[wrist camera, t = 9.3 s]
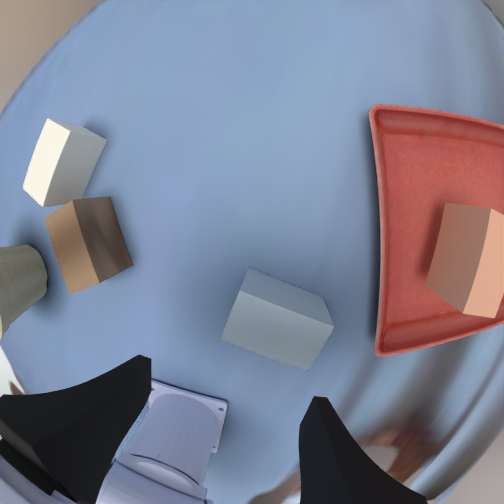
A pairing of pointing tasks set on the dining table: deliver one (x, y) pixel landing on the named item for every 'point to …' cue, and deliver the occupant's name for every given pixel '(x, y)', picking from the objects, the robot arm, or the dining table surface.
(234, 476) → the dining table surface
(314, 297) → the slate-blue brick
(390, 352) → the plant saucer
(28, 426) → the robot arm
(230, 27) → the dining table surface
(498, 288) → the terracotta brick
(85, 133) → the cream brick
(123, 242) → the walnut brick
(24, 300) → the flower pot
